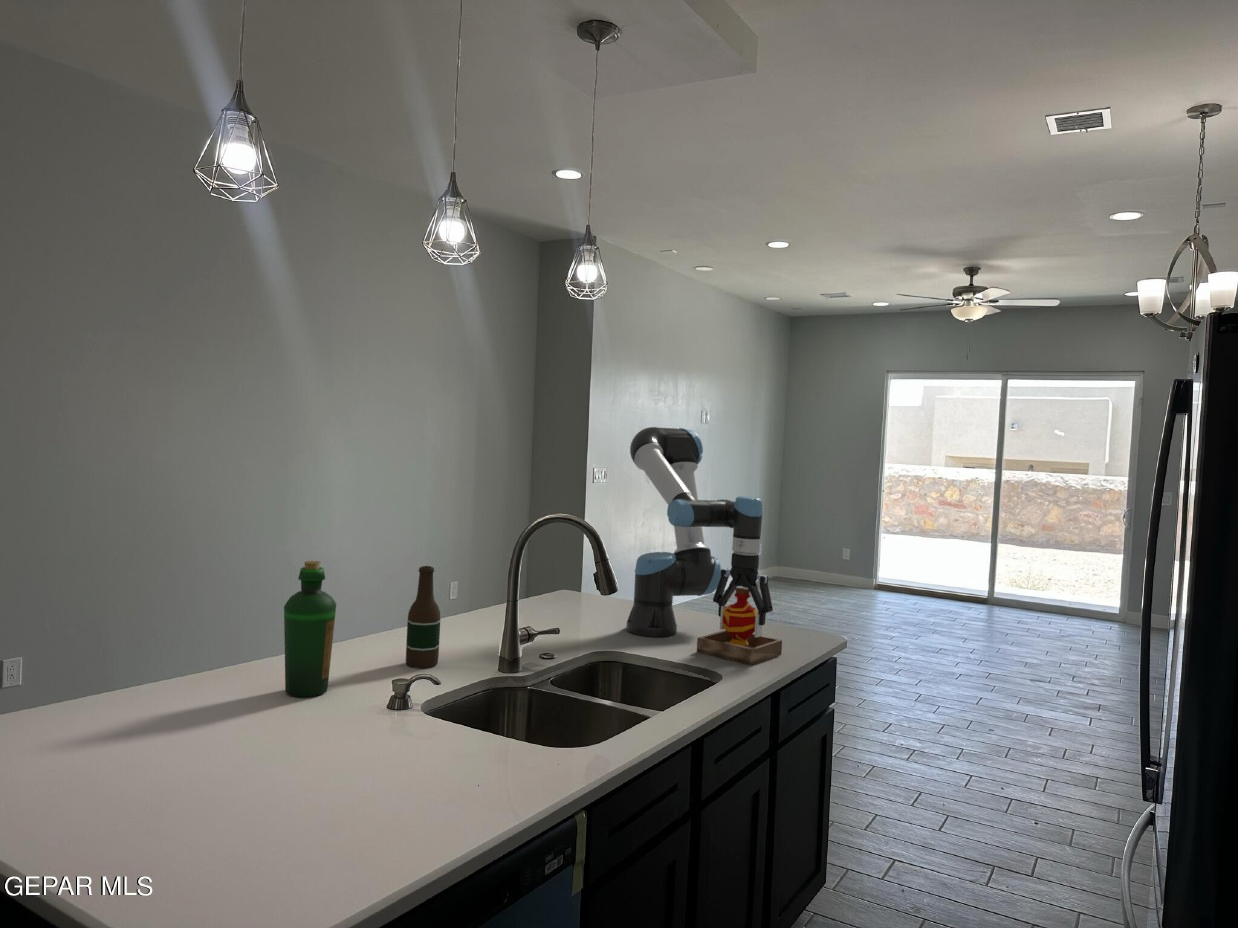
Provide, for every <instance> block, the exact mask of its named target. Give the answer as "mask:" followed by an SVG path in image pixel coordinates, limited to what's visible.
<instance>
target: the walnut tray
mask: <svg viewBox="0 0 1238 928" xmlns="http://www.w3.org/2000/svg"><path fill="white" fill-rule="evenodd" d="M754 634H755V633H753V634H752V635H751V636H750V637H748V638H747V641H748V643H749V644H748V645H734V644H732V643H730V641H731V640H732V637H731V636H730V635H729V634H728V633H727V631H726V630H725V629H723V630H720V631H716V632H713V633H709V634H704V635H703V636H699V637H697V638H696V639H697V642H696V653H699V654H703V655H707V656H711V657H716V658H719V659H723V660H728V661H732V662H737V663H740V664H743V665H748V666H752V665H755V664H758V663H761V662H764V661H766V660H770V659H773V658H776V657H777V656H781V655H782V649H783V640H782V639H778V638H774V637H770V636H765V635H762V636H760V637H754Z"/></svg>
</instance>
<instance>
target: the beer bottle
mask: <svg viewBox="0 0 1238 928" xmlns="http://www.w3.org/2000/svg"><path fill="white" fill-rule="evenodd" d="M418 572H419V576H418V584H417V594H416V596H415V597H416V598H415V600H414V601H413V603H412V604H411V606H410V608H409V610H408V614H407V625H406V626H407V627H406V628H407V629H406V646H405V647H406V648H405V664H406V665H407V666H408V667H409V668H411V669H419V670H421V669H423V670H424V669H430V668H431V669H432V668H434V667H436V666H437V665H438V663H439V653H440V636H441V635H440V633H441V631H440V630H441V611H440V607H439V605H438V604H437V602H436V600H435V596H434V595H435V594H434V572H435V567H433V566H431V565H423V566H420V567H419V569H418Z"/></svg>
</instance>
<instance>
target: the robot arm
mask: <svg viewBox="0 0 1238 928" xmlns="http://www.w3.org/2000/svg"><path fill="white" fill-rule="evenodd" d="M629 448H630V449H629V453H630V457H631V460H632V462H633V463H634V465H635V467H636V468H638V469H639V470H641V471H643V472H644V473H645V475H646V476H647V477H648V479H649V480H650V482H651V483H652V485H653V486H654V487H655V489H656V490H657V492H658V493H659V494H660V496H661V497H662V499H664V501H665V503H666V504H667V510H666V515H667V519H668V522H669V523H670V525H672V526H673V529H674V535H675V542H676V545H675V546H676V549H675V550H674V551H673V552H669V551H661V552H660V551H655V552H647V553H644V554H641V555H640V556H639V557H637V559H636V562H635V563H636V564H635V570H634V592H633V604H632V607H631V610H630V613H629V615H628V618H627V621H626V627H625V629H626V631H627V632H629V633H631V634H634V635H638V636H644V637H650V638H651V637H652V638H653V637H654V638H657V637H658V638H661V637H662V638H663V637H671V636H674V635H676V634H677V632H678V631H677V629H678V625H677V621H676V618H675V617H676V616H675V613H674V608H673V603H674V602H673V598H674V597H680V596H681V597H684V596H687V597H688V596H698V597H700V596H701V597H702V596H706V595H707V596H708V595H711V594H713V593H714V594H713V598H712V602H714V603H716V604H717V605H718V613H717V614H718V617H720V622H719V630H720V631H723V630H725V629H724V628H723V626H722V622H723V612H724V610H725V609H727V607H728V606H729V605H730V604H729V605H728V604H727V603H728V602H729V600H730V599H731V597H732V595H733V594H734V592H736V590H735V589H736V588H739V587H742V588H746V589H748V590H749V591H750V592H749V594H750V595H751V597H752V600H753V602H754V604H755V608H756V610H757V611H758V613H756V618H755V632H754V633H753V634H754V637H760V636H763V634H762V633H763V626H764V625H765V624H766V617H767V613H770V612H773V603H772V598H771V593H770V588H769V584H768V583H769V576H768V574H764V575H763V574H760V573H759V571H758V570H759V565H760V555H759V553H761V535H762V524H763V523H762V522H763V500H762V499H761V498H760V497H759V498H758V497H755V496H754V497H753V496H737V497H736V498H735V501H733V500H729V499H716V500H707V499H698V497H699V496H698V491H697V485H696V477H695V471H697V469H698V468H699V464H700V463H701V462H702V458H703V453H704V446H703V442H702V439H701V438H700V436H699V433H697V432H695V431H694V430H692V429H685V428H681V427H680V428H675V427H673V428H671V427H657V426H651V427H645V428H643V429H641V430H640V431H639V432H638V433H636V435H635V436H633V438H632V440H631V442H630V446H629ZM704 527H705V528H730V529H732V530H733V533H732V548H731V549H732V551H733V552H732V553H731V562H730V564H731V565H730V566H731V568H730V569H729V568H723V569H722V566H721V563H720V561H719V558H717V557H715V556H713V555H712V553H711V548H709V547H708V546H707V545H706V544H705V539H704V533H703V532H704V531H703V528H704ZM730 577H731V578H732V579H731V581H730V582H729V584H728V585H729V586H727V582H728V581H729V578H730ZM757 580H758V583H759V587H758V584H757ZM726 586H727V588H726ZM759 589H760V591H759Z"/></svg>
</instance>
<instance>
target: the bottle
mask: <svg viewBox="0 0 1238 928" xmlns="http://www.w3.org/2000/svg"><path fill="white" fill-rule="evenodd" d="M320 566H321V561H318V560H308V561H307V560H306V561H304V566H302V567H301V568H300V570H299V575H298V579H297V580H299V581H300V588H301V589H300V591H296V592H295V593H294V594H292V595H291V596H290V597H289V599H288V600H286V603H285V604H284V606H283V621H284V622H283V624H284V625H283V627H284V628H283V629H284V630H283V631H284V633H283V634H284V635H283V636H284V677H285V678H284V680H285V683H284V685H285V686H284V687H285V689H284V690H285V691H284V692H285V693H286V694H287V695H290V696H292V697H297V698H312V697H317V696H320V695H322V694H325V693H326V692H328V687H329V680H330V678H329V677H330V668H331V661H332V660H331V659H332V651H333V640H334V632H335V631H334V630H335V623H336V610H337V602H336V601H335V598H334V597H332V596H331V595H330V594H329V593H327V592H326V591H324V590H322V585H323V581H324V580H326V575H325V569H324V567H320Z"/></svg>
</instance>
